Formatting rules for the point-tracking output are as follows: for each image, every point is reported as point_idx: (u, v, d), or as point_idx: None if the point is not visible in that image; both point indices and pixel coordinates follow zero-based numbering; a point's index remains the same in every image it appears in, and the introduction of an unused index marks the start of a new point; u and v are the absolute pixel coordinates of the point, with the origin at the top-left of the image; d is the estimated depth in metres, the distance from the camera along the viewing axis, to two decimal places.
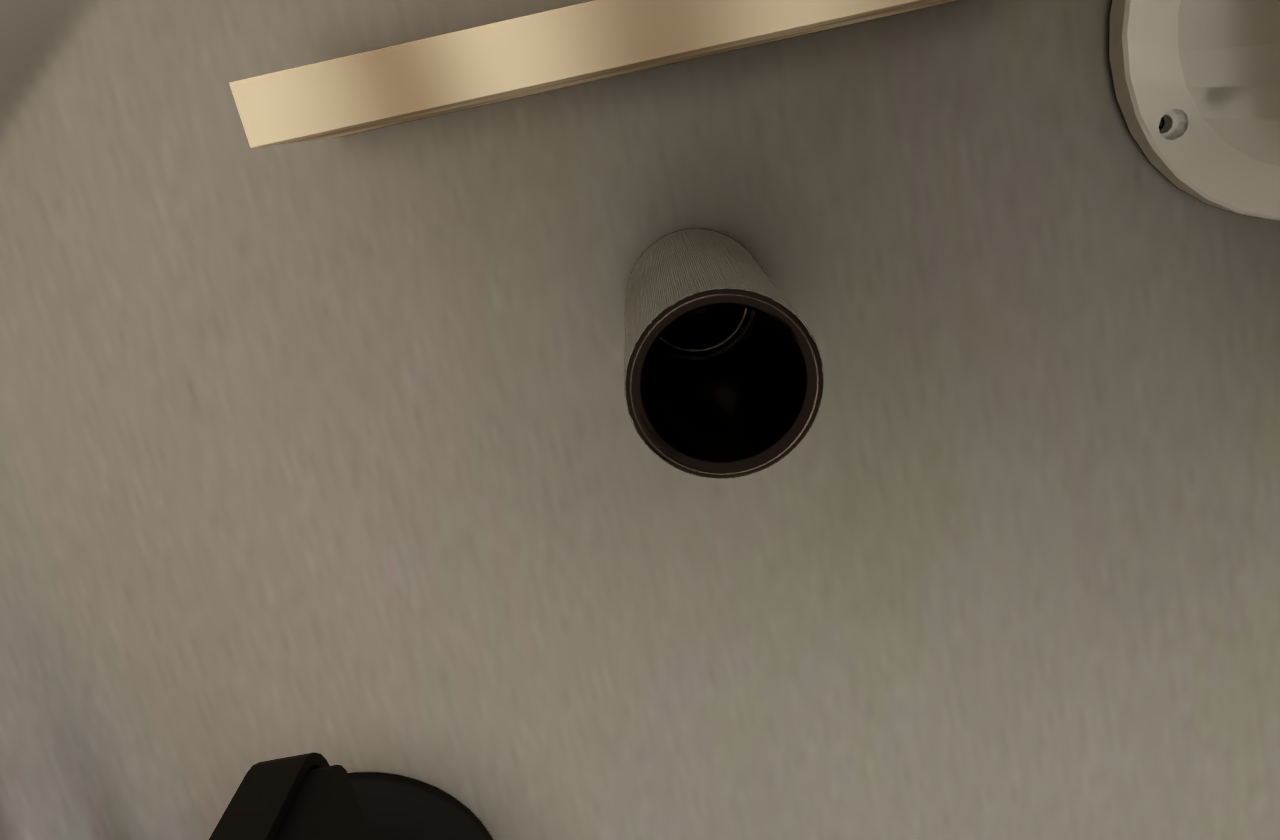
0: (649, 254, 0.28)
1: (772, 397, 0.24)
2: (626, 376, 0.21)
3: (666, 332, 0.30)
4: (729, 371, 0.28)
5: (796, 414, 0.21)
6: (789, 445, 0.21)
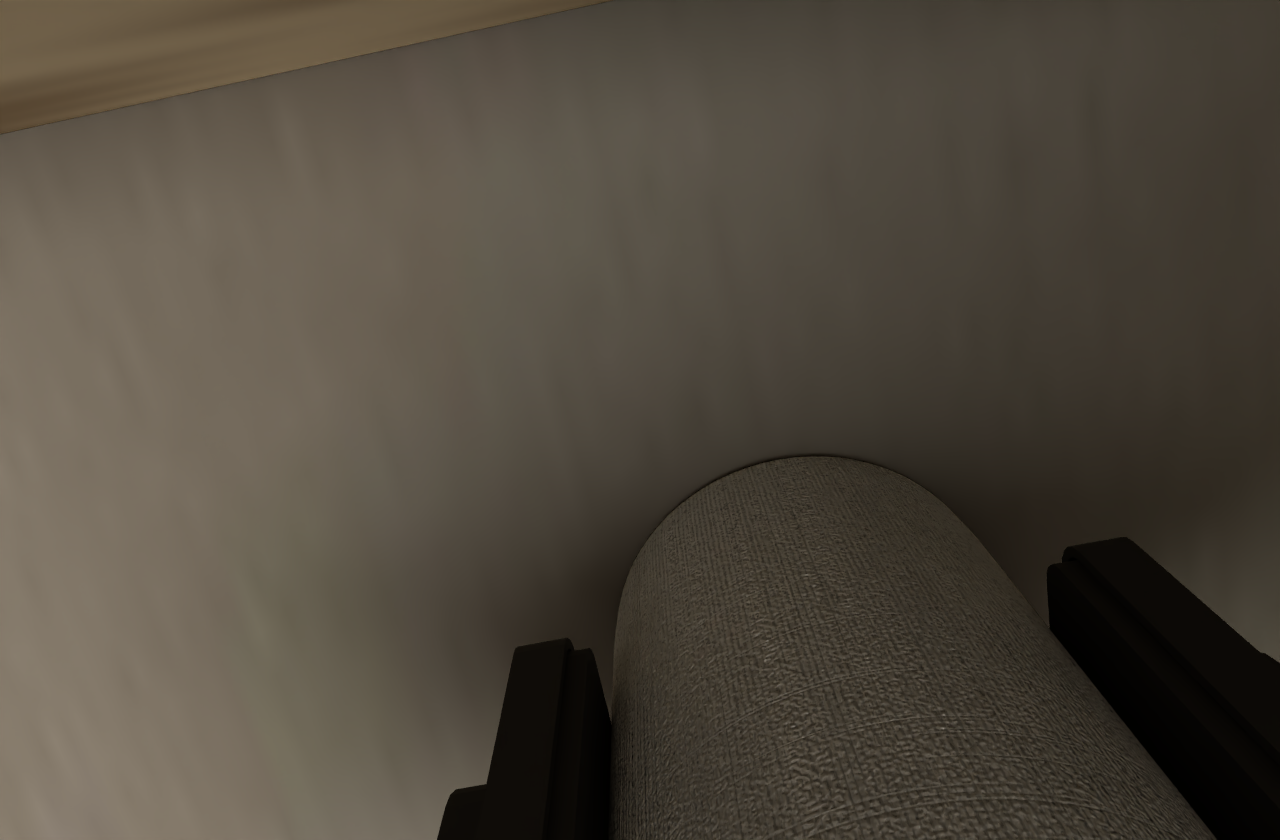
0: (687, 573, 0.09)
1: None
2: None
3: None
4: None
5: None
6: None
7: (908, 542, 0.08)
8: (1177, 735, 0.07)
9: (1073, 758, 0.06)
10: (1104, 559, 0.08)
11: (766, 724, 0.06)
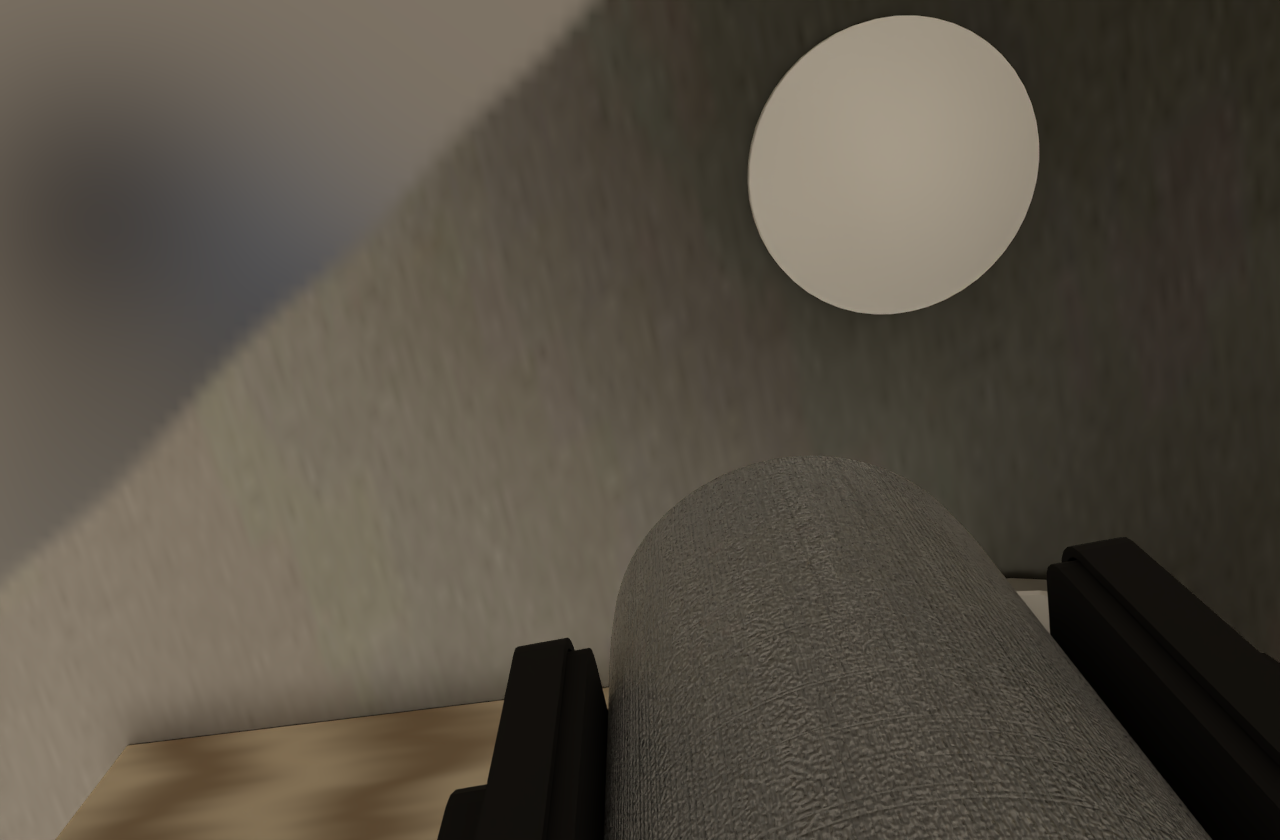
0: (683, 572, 0.09)
1: None
2: None
3: None
4: None
5: None
6: None
7: (904, 541, 0.08)
8: (1177, 735, 0.07)
9: (1066, 757, 0.06)
10: (1104, 559, 0.08)
11: (760, 723, 0.06)
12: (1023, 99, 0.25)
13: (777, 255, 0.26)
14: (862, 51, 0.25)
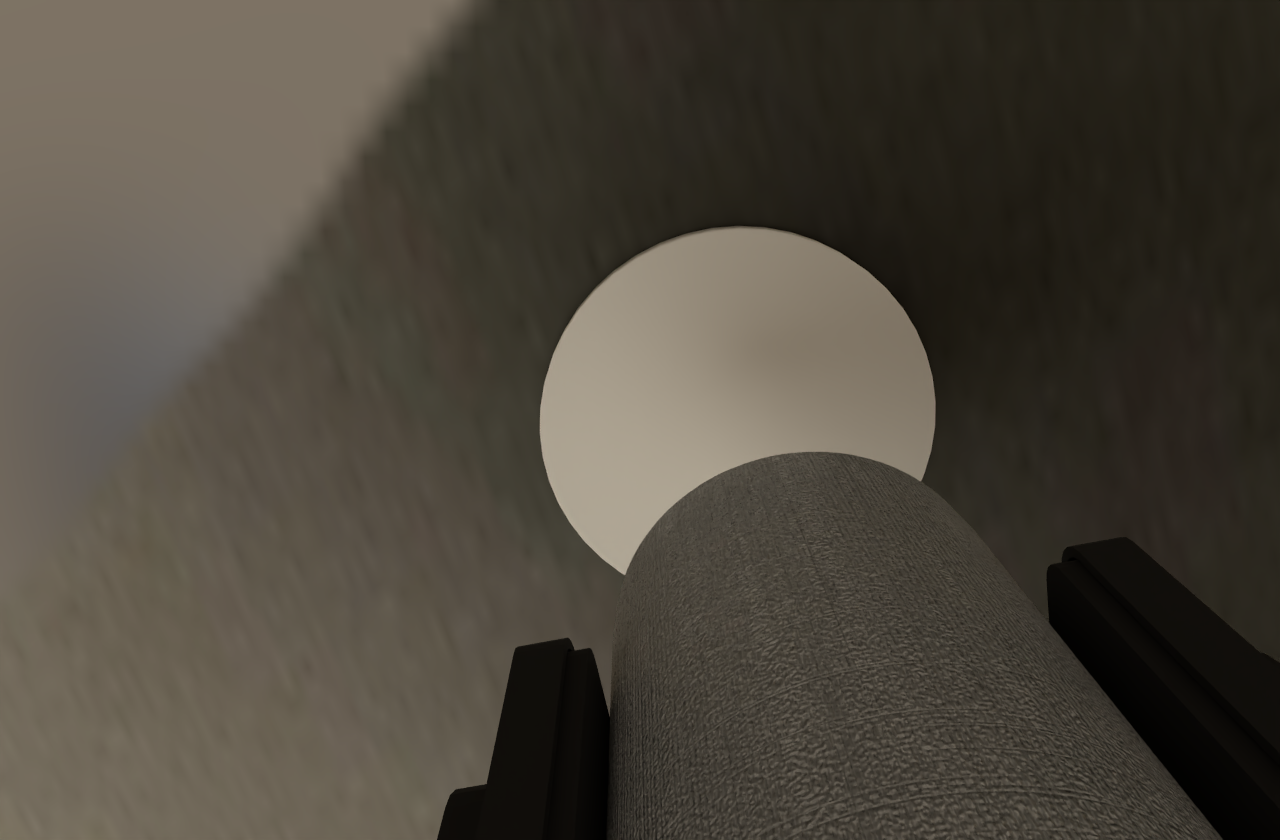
0: (686, 568, 0.09)
1: None
2: None
3: None
4: None
5: None
6: None
7: (907, 536, 0.08)
8: (1177, 735, 0.07)
9: (1073, 751, 0.06)
10: (1104, 559, 0.08)
11: (765, 717, 0.06)
12: (904, 326, 0.18)
13: (592, 542, 0.20)
14: (673, 280, 0.18)
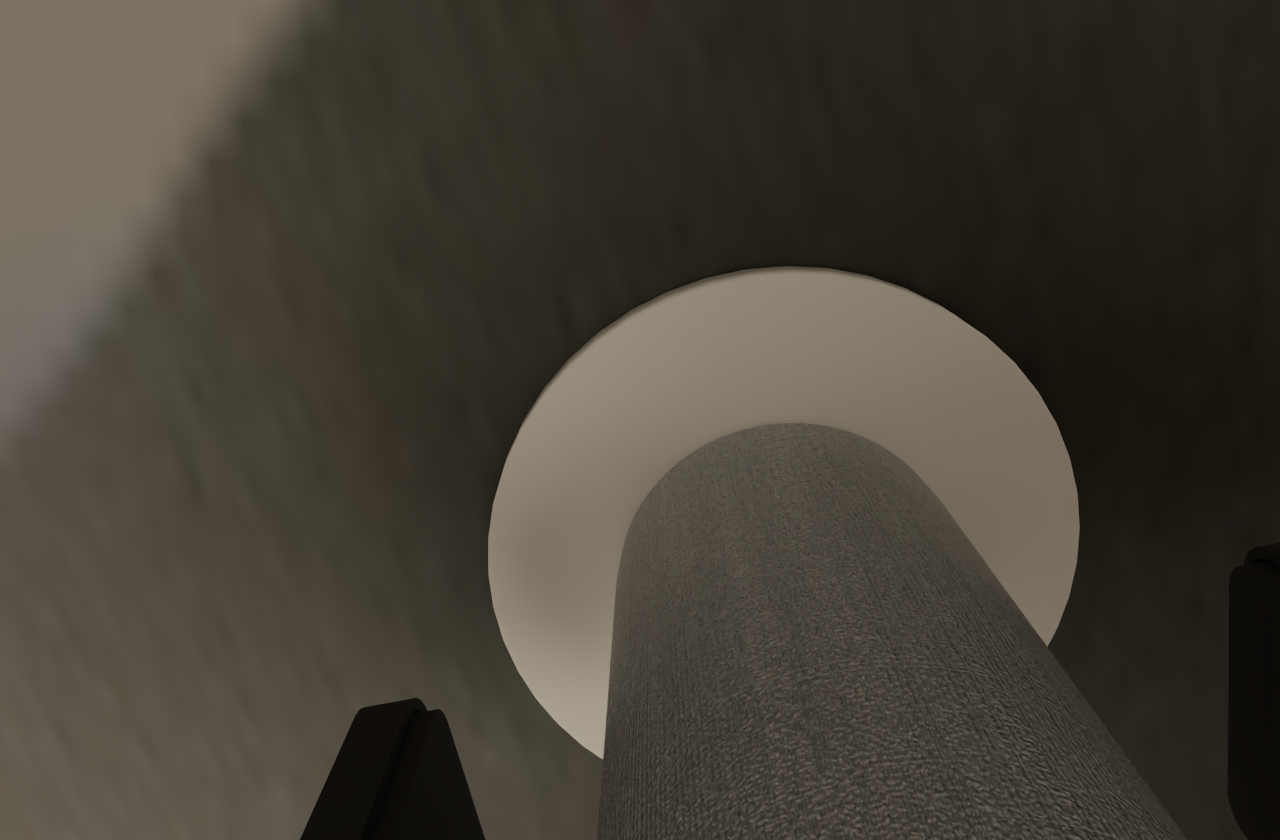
0: (678, 517, 0.10)
1: None
2: None
3: None
4: None
5: None
6: None
7: (867, 490, 0.10)
8: None
9: (976, 644, 0.07)
10: None
11: (732, 622, 0.08)
12: (1039, 418, 0.12)
13: (569, 723, 0.13)
14: (688, 351, 0.12)
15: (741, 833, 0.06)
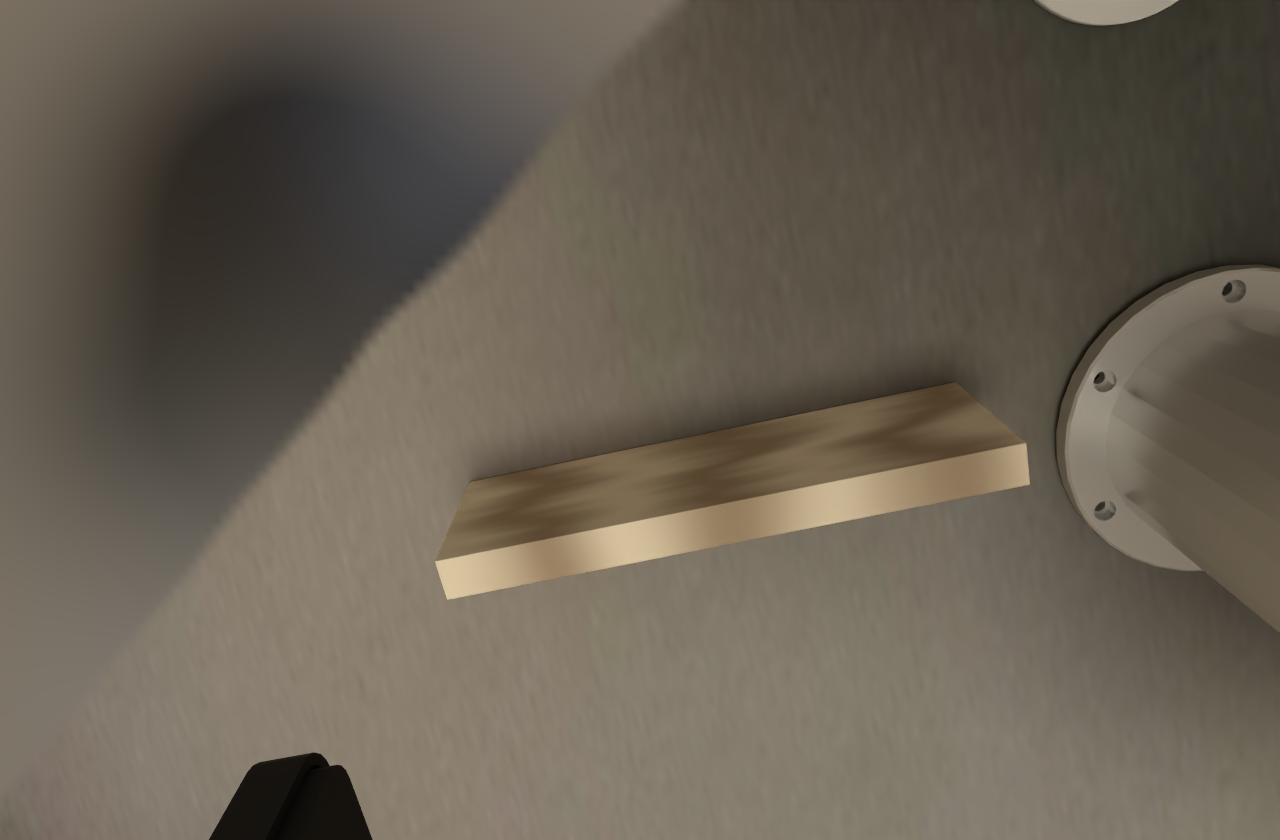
0: None
1: None
2: None
3: None
4: None
5: None
6: None
7: None
8: None
9: None
10: None
11: None
12: None
13: None
14: None
15: None
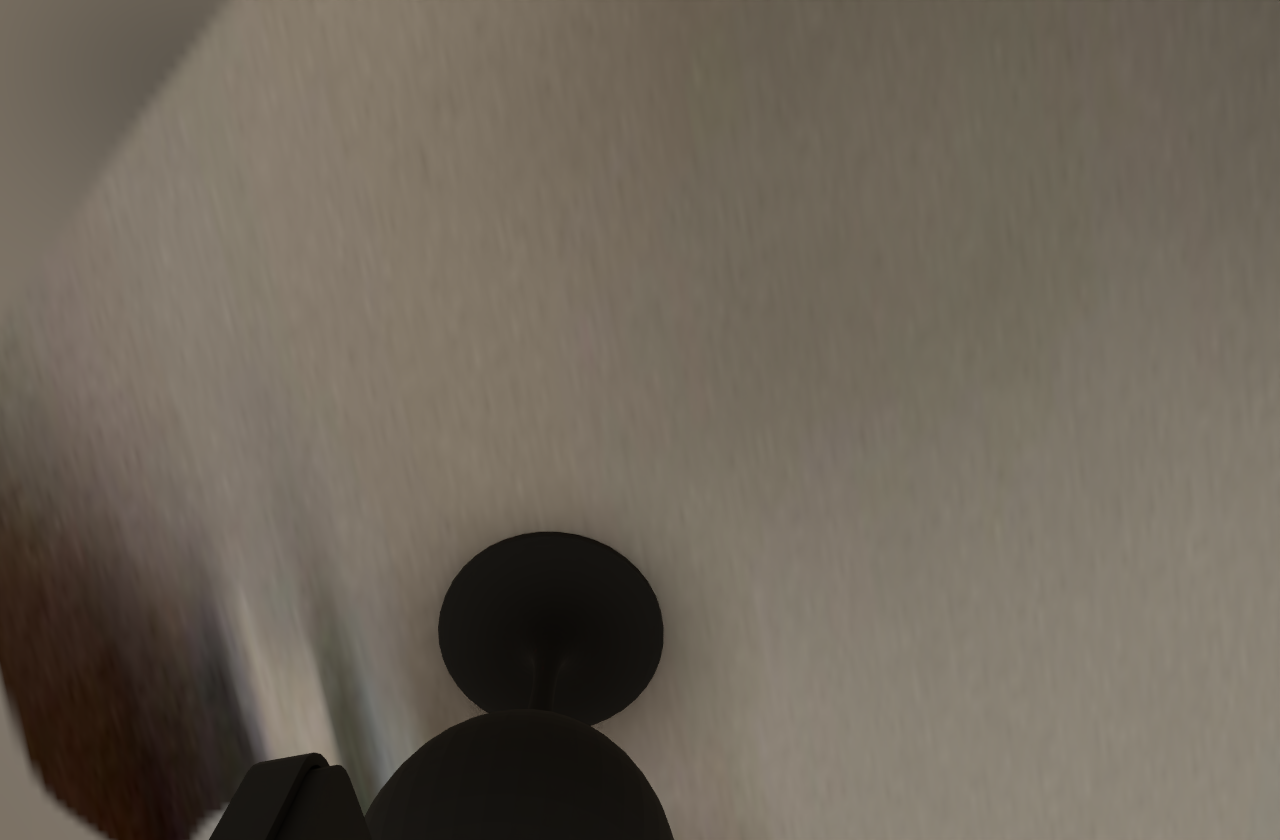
0: None
1: None
2: None
3: None
4: None
5: None
6: None
7: None
8: None
9: None
10: None
11: None
12: None
13: None
14: None
15: None
